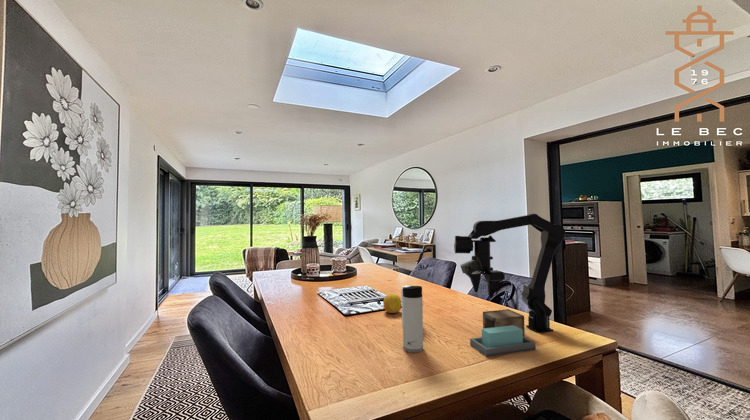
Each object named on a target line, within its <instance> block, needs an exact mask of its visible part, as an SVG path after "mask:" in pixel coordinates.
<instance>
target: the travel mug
mask: <svg viewBox="0 0 750 420" xmlns="http://www.w3.org/2000/svg"><path fill="white" fill-rule="evenodd" d="M409 286H410V287H403V286H402V287H403V326H402V345H403V346H402V348H403V350H404V351H406V352H407V353H413V354H415V353H416V354H417V353H420V352H422V351H423V350H424V327H423V326H424V324H423V323H424V320H423V319H424V316H423V314H424V312H423V311H424V310H423V308H424V307H423V306H424V305H423V286H421V285H409Z"/></svg>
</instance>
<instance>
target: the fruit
mask: <svg viewBox="0 0 750 420" xmlns="http://www.w3.org/2000/svg"><path fill="white" fill-rule="evenodd" d="M382 304H383V308H384V310H385V312H387V313H389V314H396V313H399V312H400V311H401V310H402V298H401V297H400V296H399V295H398V294H396V293H389V294H386V295H385V297H383V303H382Z"/></svg>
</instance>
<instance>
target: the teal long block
mask: <svg viewBox="0 0 750 420" xmlns="http://www.w3.org/2000/svg"><path fill="white" fill-rule="evenodd" d="M481 337H482V345H483V346H485V347H486V348H491V347H499V346H506V345H514V344H521V343H523V337H524V336H523V331H522V329H520V328H518V327H516V326H514V325H511V326H502V327H493V328H485V329H483V328H481Z"/></svg>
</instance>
